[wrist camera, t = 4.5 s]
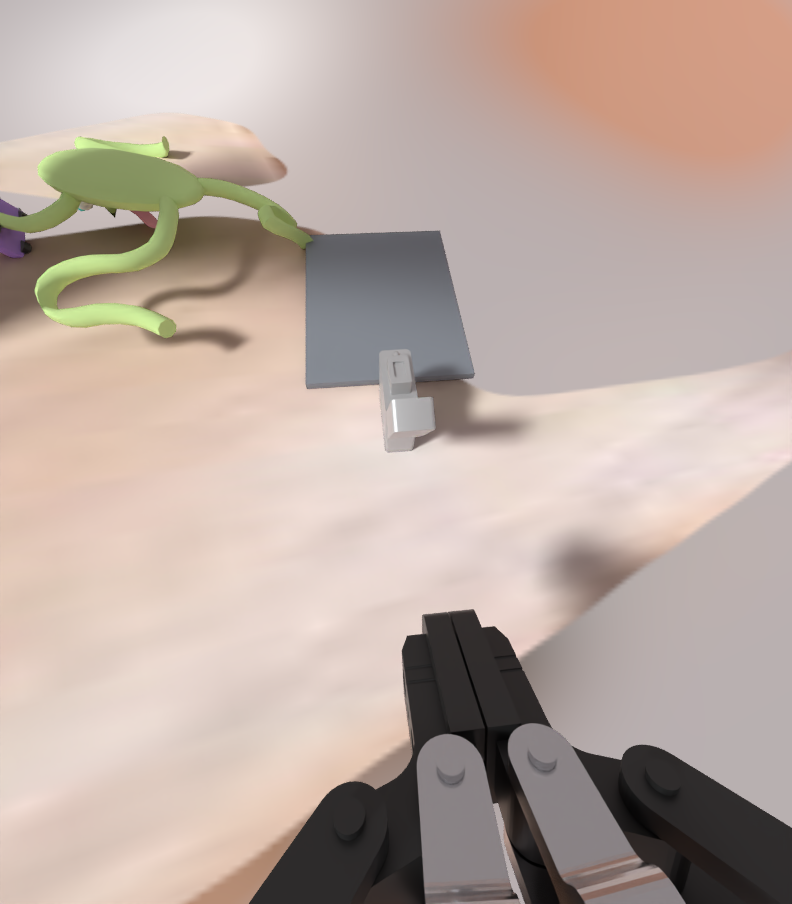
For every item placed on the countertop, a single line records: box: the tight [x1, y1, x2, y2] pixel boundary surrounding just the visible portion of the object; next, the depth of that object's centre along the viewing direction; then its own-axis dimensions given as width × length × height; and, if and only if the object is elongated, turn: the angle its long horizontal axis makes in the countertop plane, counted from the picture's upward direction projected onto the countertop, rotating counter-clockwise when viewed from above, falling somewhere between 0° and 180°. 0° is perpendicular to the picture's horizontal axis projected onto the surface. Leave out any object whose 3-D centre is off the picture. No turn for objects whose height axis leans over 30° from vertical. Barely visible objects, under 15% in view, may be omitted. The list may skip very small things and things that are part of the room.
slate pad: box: [306, 231, 475, 389], centre depth 30 cm, size 11×15×1 cm
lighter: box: [379, 349, 436, 452], centre depth 21 cm, size 7×2×8 cm, turn 6°
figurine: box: [0, 136, 313, 338], centre depth 30 cm, size 18×27×6 cm
